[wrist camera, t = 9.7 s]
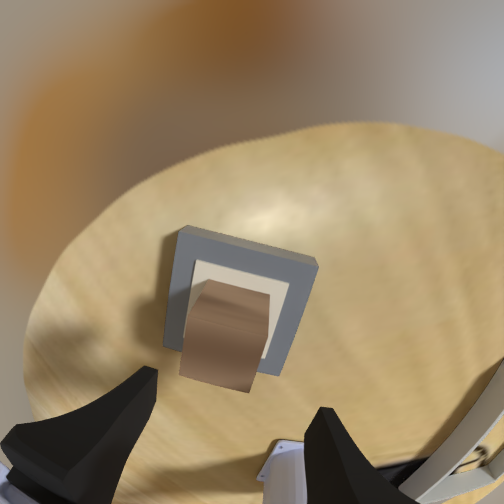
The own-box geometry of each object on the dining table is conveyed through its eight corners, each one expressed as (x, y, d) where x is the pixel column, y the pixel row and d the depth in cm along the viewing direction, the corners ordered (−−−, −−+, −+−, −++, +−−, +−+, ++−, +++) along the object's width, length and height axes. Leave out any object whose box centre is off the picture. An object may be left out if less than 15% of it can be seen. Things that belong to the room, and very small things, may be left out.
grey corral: (487, 467, 29) (494, 482, 24) (398, 487, 29) (403, 508, 24) (568, 358, 21) (582, 372, 17) (506, 354, 21) (526, 376, 17)
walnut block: (254, 344, 20) (248, 393, 15) (198, 330, 20) (178, 374, 15) (270, 294, 19) (268, 336, 14) (208, 279, 19) (187, 315, 14)
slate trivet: (278, 361, 22) (279, 377, 20) (170, 332, 23) (161, 347, 20) (314, 257, 20) (319, 267, 18) (187, 225, 20) (177, 231, 18)
